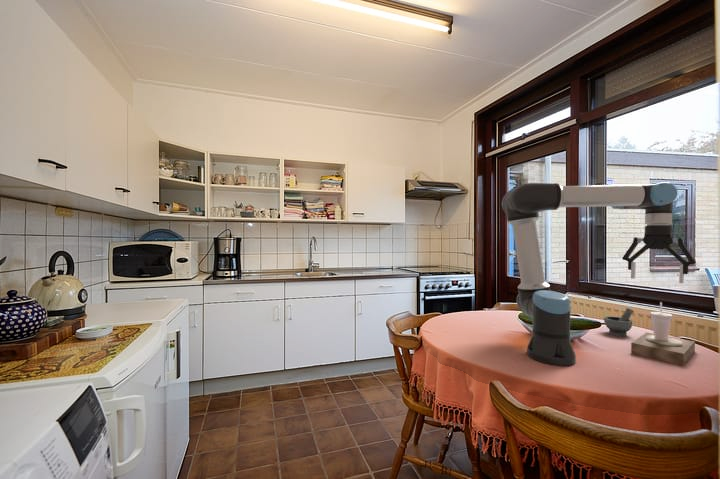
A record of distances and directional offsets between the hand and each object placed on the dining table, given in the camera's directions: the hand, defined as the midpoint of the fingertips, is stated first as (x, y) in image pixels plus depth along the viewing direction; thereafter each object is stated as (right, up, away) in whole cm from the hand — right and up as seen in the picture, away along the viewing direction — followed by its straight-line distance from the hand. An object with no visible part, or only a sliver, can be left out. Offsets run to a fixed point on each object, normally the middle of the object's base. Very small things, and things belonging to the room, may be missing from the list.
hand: (656, 280), depth 120 cm
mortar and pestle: (+5, -28, +23) cm, 36 cm away
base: (+3, -27, 0) cm, 28 cm away
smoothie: (+2, -23, 0) cm, 23 cm away
